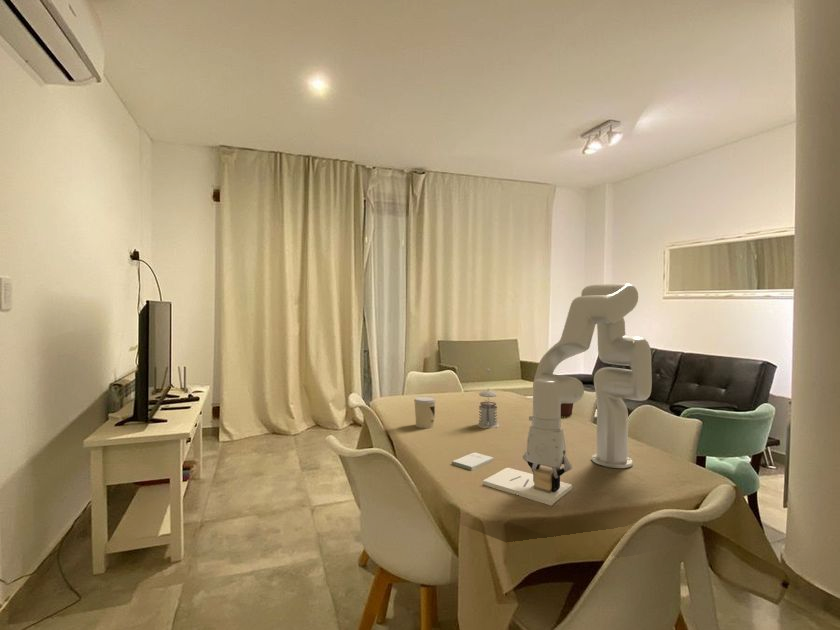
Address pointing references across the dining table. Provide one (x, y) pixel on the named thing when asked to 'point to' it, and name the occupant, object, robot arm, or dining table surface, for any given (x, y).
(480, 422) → the french press
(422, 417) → the coffee cup
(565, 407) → the muffin
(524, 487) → the board
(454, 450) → the dining table surface
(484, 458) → the external hard drive
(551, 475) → the block
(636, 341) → the robot arm
